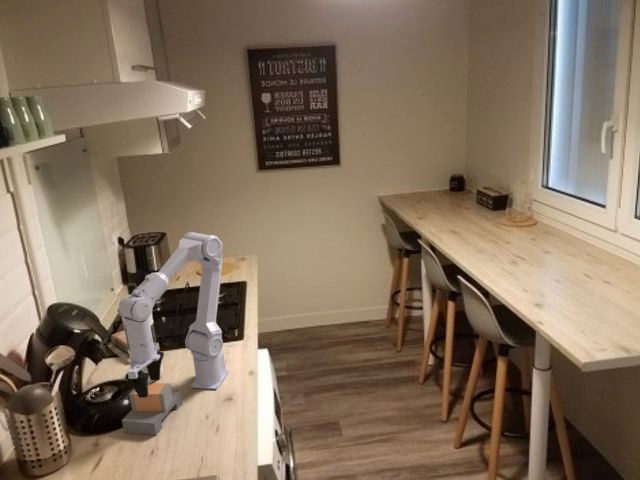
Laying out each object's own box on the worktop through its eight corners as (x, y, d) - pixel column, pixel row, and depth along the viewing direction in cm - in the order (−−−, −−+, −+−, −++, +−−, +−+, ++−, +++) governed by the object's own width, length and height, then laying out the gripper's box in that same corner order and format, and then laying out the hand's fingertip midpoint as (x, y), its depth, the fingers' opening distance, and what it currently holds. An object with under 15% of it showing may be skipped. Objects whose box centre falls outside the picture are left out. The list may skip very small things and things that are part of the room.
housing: (132, 411, 135) (129, 394, 133) (140, 399, 140) (137, 383, 138) (165, 411, 134) (163, 394, 132) (173, 399, 139) (170, 383, 137)
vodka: (165, 380, 155) (149, 286, 146) (132, 388, 152) (114, 292, 143) (162, 366, 163) (147, 276, 154) (131, 373, 160) (114, 282, 151)
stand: (153, 400, 145) (151, 389, 144) (182, 402, 143) (180, 391, 142) (124, 432, 132) (121, 420, 131) (156, 435, 130) (154, 423, 129)
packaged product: (104, 335, 176) (132, 325, 183) (106, 348, 178) (134, 338, 184) (127, 352, 164) (156, 340, 170) (129, 366, 165) (158, 354, 172)
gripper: (144, 355, 124) (153, 404, 128) (166, 327, 138) (174, 372, 142) (115, 355, 125) (125, 404, 129) (141, 327, 139) (149, 373, 143)
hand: (149, 388), depth 135 cm, fingers open, 7 cm apart
